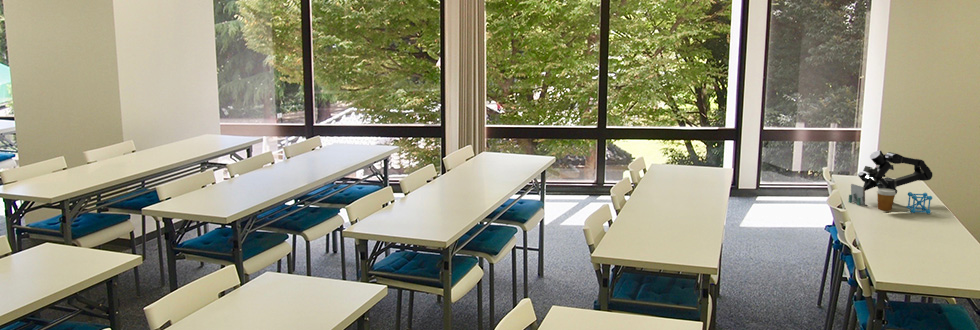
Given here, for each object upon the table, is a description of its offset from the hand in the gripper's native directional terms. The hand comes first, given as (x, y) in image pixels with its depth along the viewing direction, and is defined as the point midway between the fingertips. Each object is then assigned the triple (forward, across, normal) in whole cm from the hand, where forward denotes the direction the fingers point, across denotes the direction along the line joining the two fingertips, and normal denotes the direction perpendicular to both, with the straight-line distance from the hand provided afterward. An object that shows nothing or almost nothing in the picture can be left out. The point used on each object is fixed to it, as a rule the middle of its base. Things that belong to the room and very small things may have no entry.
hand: (862, 190), depth 439 cm
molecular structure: (-8, +20, +20) cm, 30 cm away
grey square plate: (+7, 0, +3) cm, 8 cm away
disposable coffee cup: (+4, +15, +8) cm, 18 cm away
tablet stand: (+6, 0, +6) cm, 8 cm away
